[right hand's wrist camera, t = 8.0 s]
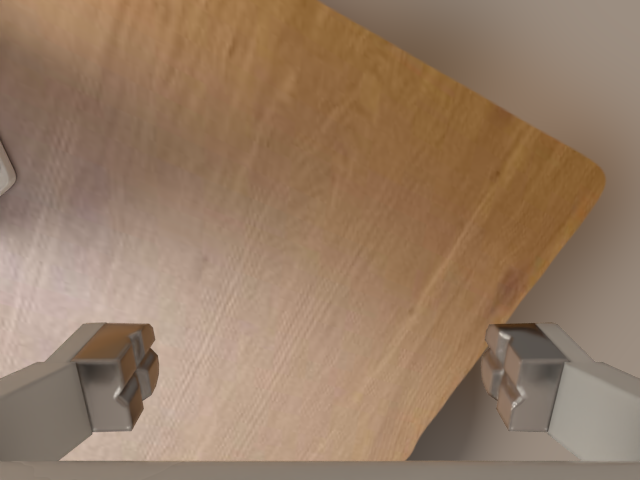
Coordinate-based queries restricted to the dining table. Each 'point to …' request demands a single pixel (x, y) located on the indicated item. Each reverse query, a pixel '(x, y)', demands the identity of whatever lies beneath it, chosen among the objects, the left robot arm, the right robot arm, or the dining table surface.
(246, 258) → the dining table surface
